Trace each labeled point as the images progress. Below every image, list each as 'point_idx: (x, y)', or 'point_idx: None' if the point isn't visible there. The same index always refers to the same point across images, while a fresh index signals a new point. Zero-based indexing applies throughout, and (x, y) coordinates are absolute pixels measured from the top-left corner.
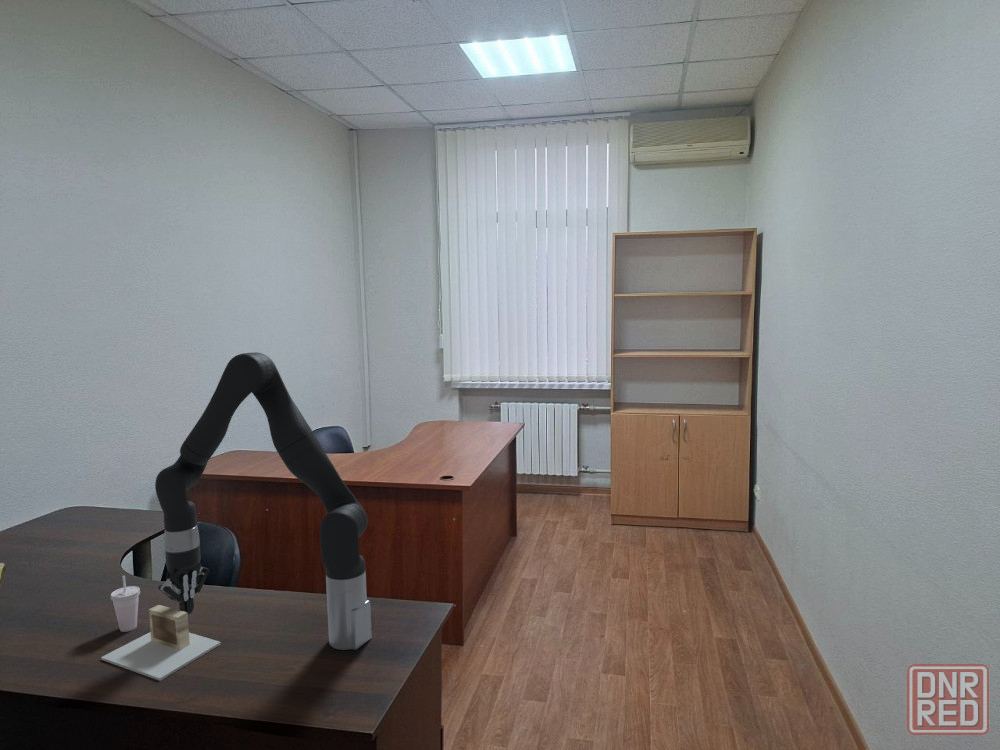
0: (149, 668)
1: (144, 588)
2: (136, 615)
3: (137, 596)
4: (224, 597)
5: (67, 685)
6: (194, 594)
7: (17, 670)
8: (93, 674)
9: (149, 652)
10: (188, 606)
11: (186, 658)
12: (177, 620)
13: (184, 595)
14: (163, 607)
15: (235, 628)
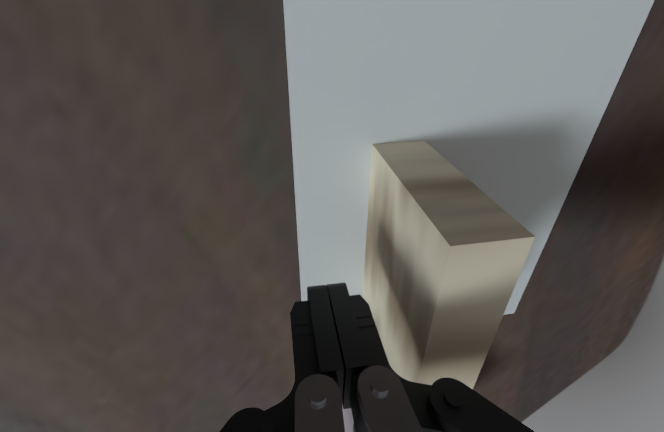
0: (571, 126)
1: None
2: (350, 419)
3: None
4: (11, 366)
5: (629, 264)
6: (297, 400)
7: (561, 382)
8: (580, 260)
9: None
10: (344, 323)
11: (482, 36)
12: (517, 226)
13: (409, 421)
14: None
15: (111, 77)
